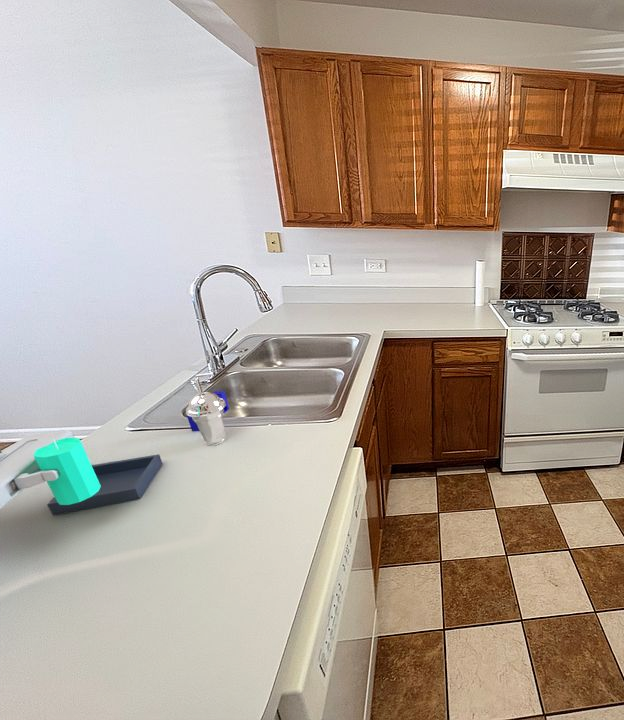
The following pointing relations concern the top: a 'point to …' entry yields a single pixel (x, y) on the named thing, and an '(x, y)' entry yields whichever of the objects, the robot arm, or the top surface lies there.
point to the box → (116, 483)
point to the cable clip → (222, 395)
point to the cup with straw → (208, 414)
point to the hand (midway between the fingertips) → (70, 462)
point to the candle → (68, 470)
